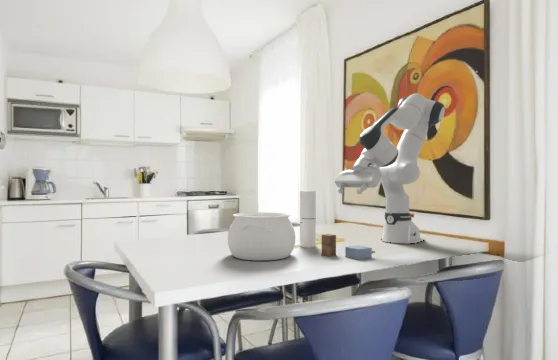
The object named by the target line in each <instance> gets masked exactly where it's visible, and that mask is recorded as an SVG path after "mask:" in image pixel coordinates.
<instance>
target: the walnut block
mask: <svg viewBox="0 0 558 360" xmlns="http://www.w3.org/2000/svg"><path fill="white" fill-rule="evenodd" d="M321 256H326V257H333V256H337V234H334V233H333V234H332V233H326V234H325V233H323V234H321Z"/></svg>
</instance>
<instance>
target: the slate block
mask: <svg viewBox="0 0 558 360" xmlns="http://www.w3.org/2000/svg"><path fill="white" fill-rule="evenodd" d="M372 248H373V247H370V246H365V245H359V244H358V245H357V244H356V245H349V246H345V249H344V250H345V253H344V254H345V257H346V258H351V259H355V260H358V259H359V260H364V259H365V258H366V259H370V258H372V255H373V253H372V251H373V249H372Z"/></svg>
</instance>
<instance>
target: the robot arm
mask: <svg viewBox="0 0 558 360" xmlns="http://www.w3.org/2000/svg"><path fill="white" fill-rule="evenodd" d="M445 108H446V107H445V104H444V103H442V102H440V101H436V100H432V99H429V98H426V97H425V96H424V95H423V94H421V93H417V92H415V93H412V94H410V95H409V96H403V97H402V98H400V99H399V101H398V103H397V106H394V107H393V108H390V109H388V110H387V111H385V112H384V113H383V114H382V115H381V116H379V117H378V118H377V119H376V120H375V121H374V122H373V123H372V124H371V125H369V127H367V128H366V129H364V130H363V131H362V133H360V135H359V144H360V146H362V147H363V150H362V151H361V152H360V154H359V158H357V159H356V160H355V163H353V165H352V168H351V169H346V170H343V171H341V172H340V173H339V174H338V175H337V177H336V178H335V179H334V183H335V186H336V187H337V188H338V190H337V192H338V194H342V195H343V194H344V189H345V188H357V190H356V193H357V195H362V194H363V192H364V191H366V190H367V189H369V188H370V189H371V188H372V189H374V188H376V187H377V186H379V184H380V183H381V185H382V188H383V192H384V197H385V212H384V220H385V222H384V223H383V226H382V227H383V228H382V237H380V240H381V239H382V242H385V243H390V242H391V244H410V243H415V244H418V243H417V242H419V243H421V242H420V241H422V242H424V241H423V240H425V241H426V239H425V238H423V237H421V233H420V232H421V231H420V227H418V226H417V225H416V224H415V223H414V222H413V221H412V220H413V218H415V213H410V196H409V195H408V193H406V191H405V188H404V185H409V184H412V183H415V182H417V181H418V180H419V178H420V174H421V170H420V167H419V166H418V158H419V155H420V152H421V151H422V149H423V148H422V147H423V146H424V143H425V141H426V138H427V134H428V132H429V128H432V127H433V126H435V125H437V124H439V123H440V122H441V121H442V120H443V118H444V115H445V111H446V109H445ZM389 124H390V125H393V126H394V127H395V128H397V129H399V130H403V132H402V135H401V136H400V139H399V140H398V143H397V146H396V145H394V143H392V142H391V140H390V139H389V138H388V136H387V135H386V134H385V133H384V130H383V129H384V128H385V127H387V125H389Z"/></svg>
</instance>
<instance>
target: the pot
mask: <svg viewBox="0 0 558 360" xmlns="http://www.w3.org/2000/svg"><path fill="white" fill-rule="evenodd" d="M232 216H233V217H234V219H233V220H232V222H231V224H230V226H229V228H228V233H227V246H228V249H229V251H230V253H231V255H232V256H233V257H234V258H236V259H239V260H243V261H251V260H252V261H254V262H256V261H257V262H267V261H278V260H282V259H285V258H288V257H290V255H291V254H292V253H293V251H294V248H295V246H296V245H295V244H296V232H295V231H296V230H295V227H294V225H293V224H292V222H291V220H290V218H289V217H291V214H290V213H284V212H240V213H239V212H238V213H233V214H232ZM252 261H251V262H252Z"/></svg>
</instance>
